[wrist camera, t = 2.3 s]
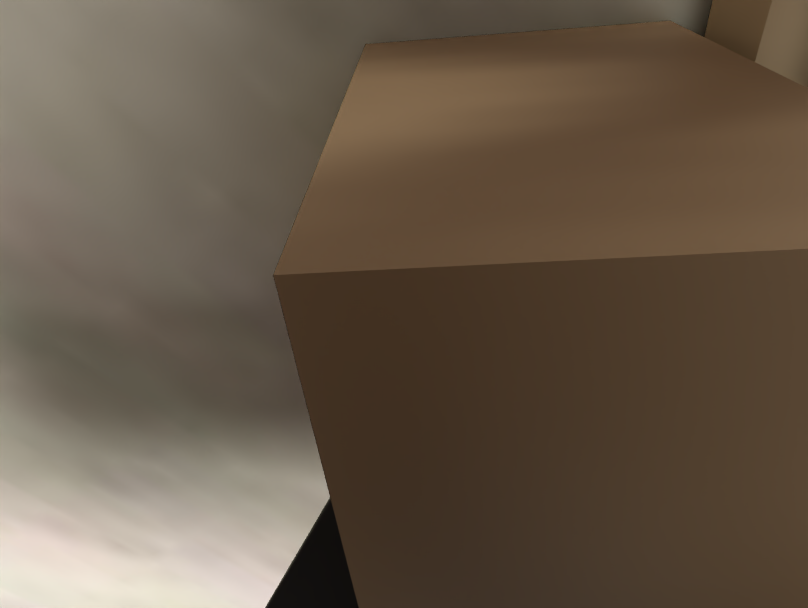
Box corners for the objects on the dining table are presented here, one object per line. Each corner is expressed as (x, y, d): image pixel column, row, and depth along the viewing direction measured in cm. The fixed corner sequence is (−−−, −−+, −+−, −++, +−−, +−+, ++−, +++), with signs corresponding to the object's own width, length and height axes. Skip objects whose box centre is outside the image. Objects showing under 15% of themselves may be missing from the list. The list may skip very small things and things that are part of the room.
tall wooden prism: (669, 20, 6) (1610, 481, 1) (568, 565, 13) (655, 969, 8) (366, 43, 7) (179, 507, 2) (422, 567, 13) (421, 961, 8)
